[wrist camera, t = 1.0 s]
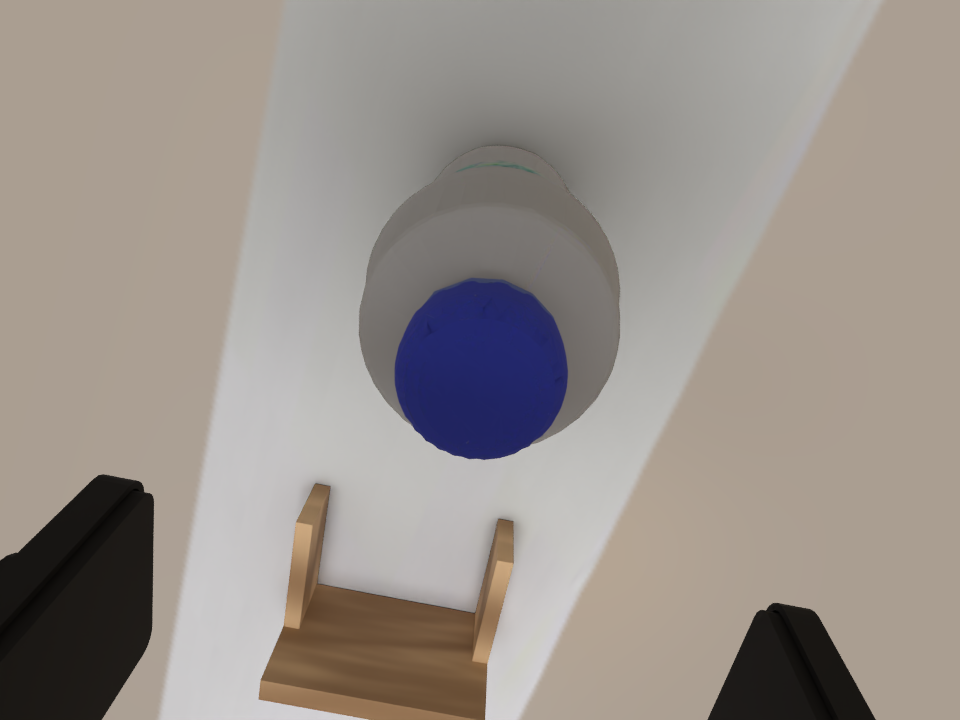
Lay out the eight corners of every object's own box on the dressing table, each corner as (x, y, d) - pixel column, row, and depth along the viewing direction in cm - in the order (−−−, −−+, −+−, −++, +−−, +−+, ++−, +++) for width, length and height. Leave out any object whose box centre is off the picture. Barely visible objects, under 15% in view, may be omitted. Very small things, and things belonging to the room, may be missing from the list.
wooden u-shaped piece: (315, 483, 36) (272, 568, 30) (513, 521, 37) (513, 614, 30) (300, 598, 39) (258, 699, 33) (484, 632, 40) (479, 739, 33)
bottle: (447, 303, 33) (363, 582, 14) (406, 159, 30) (238, 265, 12) (588, 268, 32) (700, 517, 13) (556, 118, 30) (635, 160, 11)
